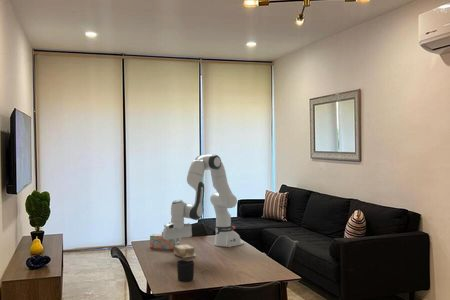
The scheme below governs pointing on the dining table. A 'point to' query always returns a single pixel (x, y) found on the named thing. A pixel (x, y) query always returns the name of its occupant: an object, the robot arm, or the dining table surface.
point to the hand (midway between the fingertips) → (177, 244)
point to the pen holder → (185, 270)
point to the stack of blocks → (161, 242)
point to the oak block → (184, 250)
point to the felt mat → (189, 256)
